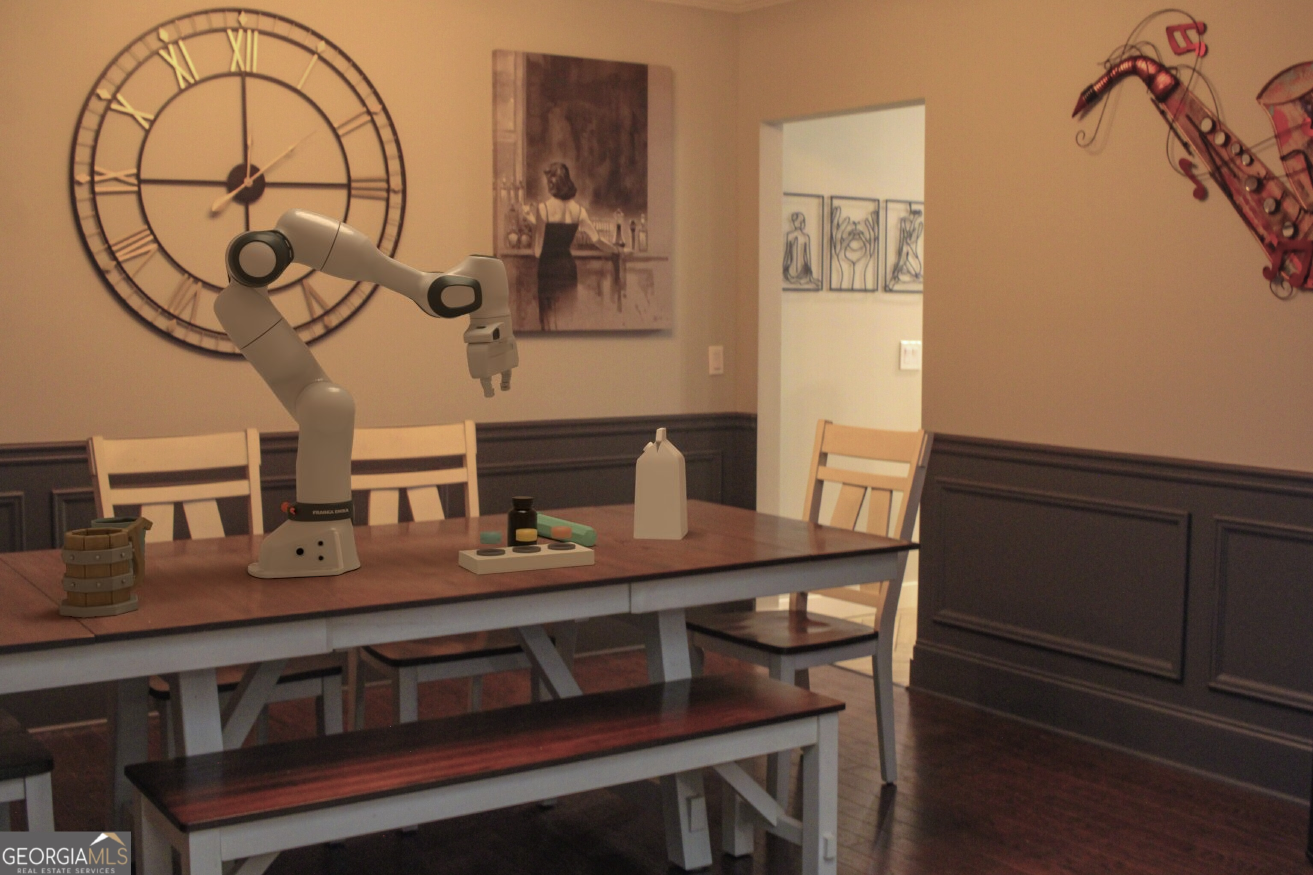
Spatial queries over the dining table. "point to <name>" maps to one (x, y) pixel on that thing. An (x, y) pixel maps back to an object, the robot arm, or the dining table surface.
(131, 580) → the tankard
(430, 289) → the robot arm
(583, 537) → the container
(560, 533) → the terracotta button
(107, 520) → the drinking glass
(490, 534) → the teal button
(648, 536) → the milk
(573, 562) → the button panel
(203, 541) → the dining table surface
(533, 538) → the mustard button
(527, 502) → the supplement bottle
